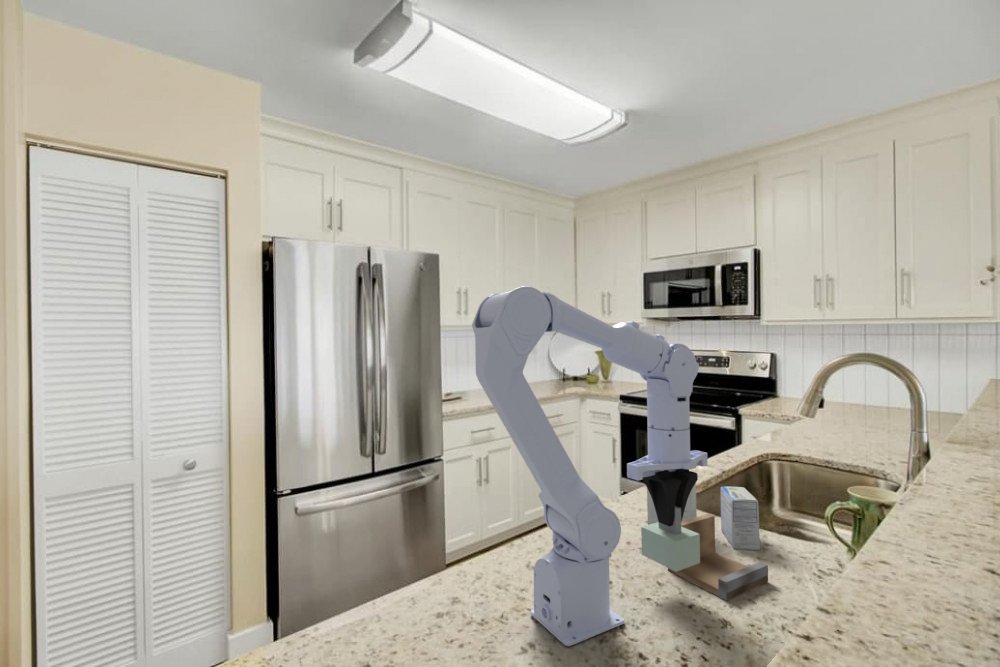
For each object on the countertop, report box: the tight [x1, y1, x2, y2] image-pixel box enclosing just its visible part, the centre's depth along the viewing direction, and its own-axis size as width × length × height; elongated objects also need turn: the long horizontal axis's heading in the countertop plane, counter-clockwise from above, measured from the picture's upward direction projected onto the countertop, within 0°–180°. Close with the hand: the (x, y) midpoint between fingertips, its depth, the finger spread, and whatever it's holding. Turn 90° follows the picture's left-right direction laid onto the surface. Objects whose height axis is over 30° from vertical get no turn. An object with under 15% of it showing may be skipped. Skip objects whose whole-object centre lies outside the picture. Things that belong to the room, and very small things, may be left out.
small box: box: [646, 482, 698, 525], centre depth 89 cm, size 8×6×10 cm
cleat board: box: [667, 513, 769, 601], centre depth 72 cm, size 10×10×7 cm
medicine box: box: [719, 486, 761, 551], centre depth 84 cm, size 8×4×9 cm, turn 168°
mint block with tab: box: [640, 506, 700, 572], centre depth 66 cm, size 5×6×8 cm
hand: (669, 522), depth 66 cm, fingers closed on mint block with tab
